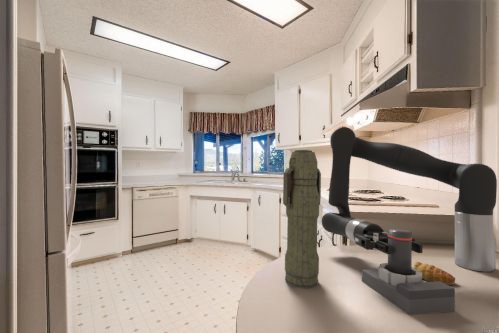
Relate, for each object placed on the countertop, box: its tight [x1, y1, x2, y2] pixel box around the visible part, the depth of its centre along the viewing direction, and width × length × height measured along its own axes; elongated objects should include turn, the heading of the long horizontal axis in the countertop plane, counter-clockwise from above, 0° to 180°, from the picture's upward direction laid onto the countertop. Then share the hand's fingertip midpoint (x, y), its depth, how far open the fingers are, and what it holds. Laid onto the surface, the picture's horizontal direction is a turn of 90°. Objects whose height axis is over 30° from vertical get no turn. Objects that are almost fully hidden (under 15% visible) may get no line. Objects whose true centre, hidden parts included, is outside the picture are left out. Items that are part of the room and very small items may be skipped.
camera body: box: [361, 262, 456, 315], centre depth 59 cm, size 11×16×6 cm
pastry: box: [412, 261, 456, 286], centre depth 69 cm, size 9×7×4 cm
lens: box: [387, 228, 413, 275], centre depth 61 cm, size 5×5×12 cm
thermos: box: [282, 149, 322, 289], centre depth 66 cm, size 9×12×35 cm
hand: (405, 249), depth 59 cm, fingers open, 8 cm apart
